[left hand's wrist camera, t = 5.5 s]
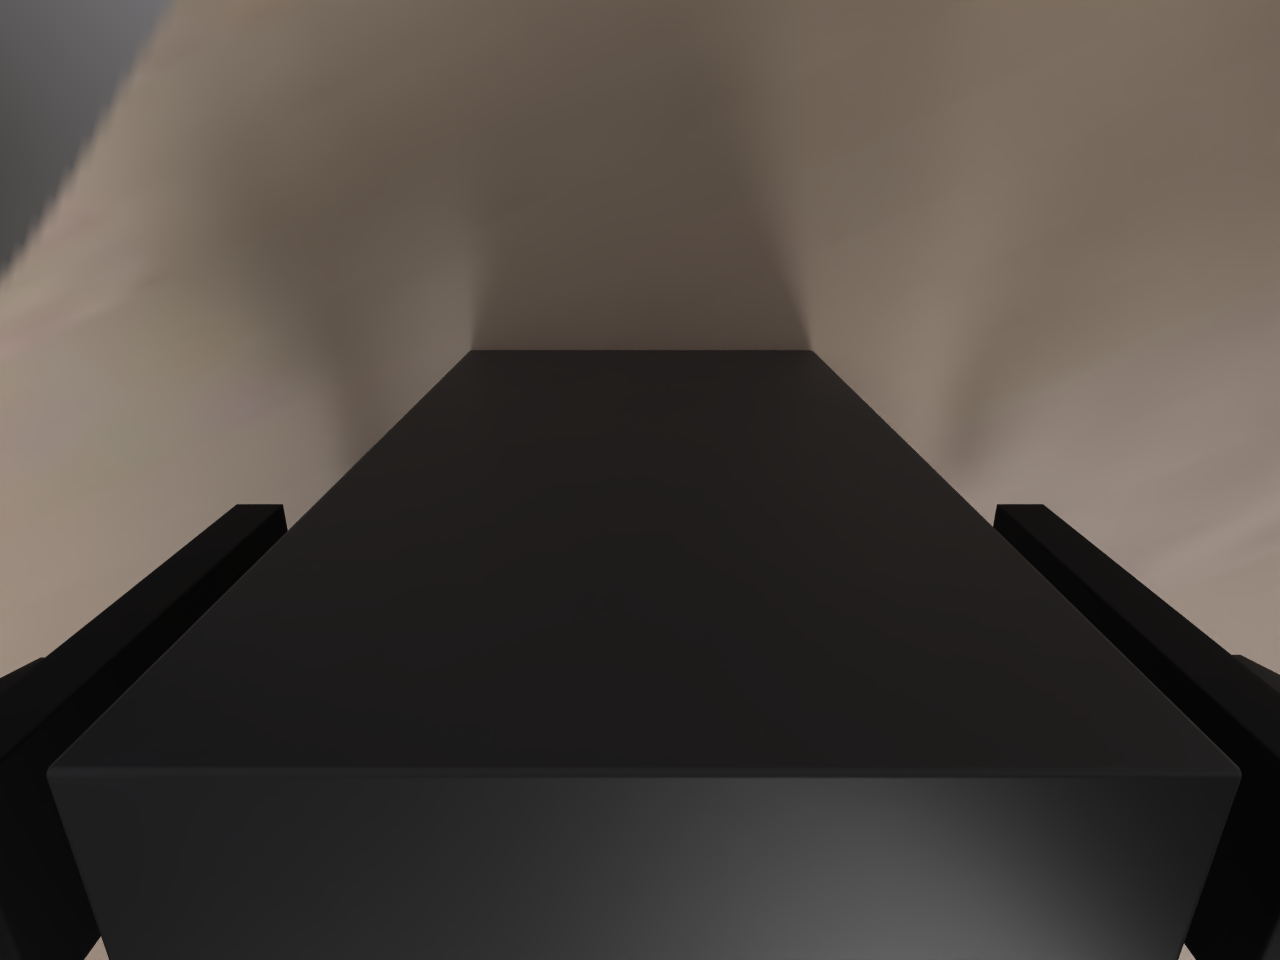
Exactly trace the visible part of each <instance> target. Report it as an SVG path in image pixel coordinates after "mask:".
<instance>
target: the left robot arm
mask: <svg viewBox="0 0 1280 960" xmlns="http://www.w3.org/2000/svg"><path fill="white" fill-rule="evenodd" d="M993 528H994V529H995V530H997V531H998V532H999V533H1000V534H1001V535H1002V536H1003V537H1004V538H1005V539H1006V540H1007V541H1008V542H1009V543H1010V544H1011V545H1012V546H1013V547H1014V548H1015V549H1016V550H1017V551H1018V552H1019V553H1020V554H1021V555H1022V556H1023V557H1024V558H1025V559H1026V560H1027V561H1028V562H1029V563H1030V564H1031V565H1032V566H1033V567H1034V568H1035V569H1036V570H1037V571H1038V572H1040V573H1041V574H1042V575H1043V576H1044V577H1045V578H1046V579H1047V580H1048V581H1049V582H1050V583H1051V584H1052V585H1053V586H1054V587H1055V588H1056V589H1057V590H1058V591H1059V592H1060V593H1061V594H1062V595H1063V596H1064V597H1065V598H1066V599H1067V600H1068V601H1069V602H1070V603H1071V604H1072V605H1073V606H1074V607H1075V608H1076V609H1077V610H1078V611H1079V612H1080V613H1081V614H1083V615H1084V616H1085V617H1086V618H1087V619H1088V620H1089V621H1090V622H1091V623H1092V624H1093V625H1094V626H1095V627H1096V628H1097V629H1098V630H1099V631H1100V632H1101V633H1102V634H1103V635H1104V636H1105V637H1106V638H1107V639H1108V640H1109V641H1110V642H1111V643H1112V644H1113V645H1114V646H1115V647H1116V648H1117V649H1118V650H1119V651H1120V652H1121V653H1122V654H1123V655H1124V656H1126V657H1127V658H1128V659H1129V660H1130V661H1131V662H1132V663H1133V664H1134V665H1135V666H1136V667H1137V668H1138V669H1139V670H1140V671H1141V672H1142V673H1143V674H1144V675H1145V676H1146V677H1147V678H1148V679H1149V680H1150V681H1151V682H1152V683H1153V684H1154V685H1155V686H1156V687H1157V688H1158V689H1159V690H1160V691H1161V692H1162V693H1163V694H1164V695H1165V696H1166V697H1167V698H1169V699H1170V700H1171V701H1172V702H1173V703H1174V704H1175V705H1176V706H1177V707H1178V708H1179V709H1180V710H1181V711H1182V712H1183V713H1184V714H1185V715H1186V716H1187V717H1188V718H1189V719H1190V720H1191V721H1192V722H1193V723H1194V724H1195V725H1196V726H1197V727H1198V728H1199V729H1200V730H1201V731H1202V732H1203V733H1204V734H1205V735H1206V736H1207V737H1208V738H1209V739H1210V740H1211V741H1213V742H1214V743H1215V744H1216V745H1217V746H1218V747H1219V748H1220V749H1221V750H1222V751H1223V752H1224V753H1225V754H1226V755H1227V756H1228V757H1229V758H1230V759H1231V760H1232V761H1233V762H1234V763H1235V764H1236V765H1237V766H1238V767H1239V768H1240V770H1241V774H1242V778H1241V781H1240V784H1239V786H1238V789H1237V792H1236V795H1235V798H1234V801H1233V804H1232V806H1231V809H1230V812H1229V815H1228V818H1227V821H1226V824H1225V827H1224V829H1223V832H1222V835H1221V838H1220V841H1219V844H1218V847H1217V850H1216V852H1215V855H1214V858H1213V861H1212V864H1211V867H1210V870H1209V872H1208V875H1207V878H1206V881H1205V884H1204V887H1203V890H1202V893H1201V895H1200V898H1199V901H1198V904H1197V907H1196V910H1195V913H1194V915H1193V918H1192V921H1191V924H1190V927H1189V930H1188V933H1187V936H1186V938H1185V941H1184V944H1185V945H1186V946H1187V948H1188V949H1189V951H1190V952H1191V953H1192V955H1193V956H1194V958H1195V959H1196V960H1280V675H1279V674H1277V673H1275V672H1273V671H1271V670H1269V669H1267V668H1265V667H1263V666H1261V665H1259V664H1257V663H1255V662H1253V661H1251V660H1249V659H1247V658H1245V657H1243V656H1242V655H1231V654H1230V653H1228V652H1227V651H1226V650H1225V649H1223V648H1222V647H1221V646H1220V645H1218V644H1217V643H1216V642H1215V641H1213V640H1212V639H1211V638H1210V637H1208V636H1207V635H1206V634H1205V633H1203V632H1202V631H1201V630H1200V629H1198V628H1197V627H1196V626H1195V625H1193V624H1192V623H1191V622H1190V621H1188V620H1187V619H1186V618H1185V617H1183V616H1182V615H1181V614H1180V613H1178V612H1177V611H1176V610H1175V609H1173V608H1172V607H1171V606H1170V605H1168V604H1167V603H1166V602H1165V601H1163V600H1162V599H1161V598H1160V597H1158V596H1157V595H1156V594H1155V593H1153V592H1152V591H1151V590H1150V589H1148V588H1147V587H1146V586H1145V585H1143V584H1142V583H1141V582H1140V581H1138V580H1137V579H1136V578H1135V577H1133V576H1132V575H1131V574H1130V573H1128V572H1127V571H1126V570H1125V569H1123V568H1122V567H1121V566H1120V565H1118V564H1117V563H1116V562H1115V561H1113V560H1112V559H1111V558H1110V557H1108V556H1107V555H1106V554H1105V553H1103V552H1102V551H1101V550H1100V549H1098V548H1097V547H1096V546H1095V545H1093V544H1092V543H1091V542H1090V541H1088V540H1087V539H1086V538H1085V537H1083V536H1082V535H1081V534H1080V533H1078V532H1077V531H1076V530H1075V529H1073V528H1072V527H1071V526H1070V525H1068V524H1067V523H1066V522H1064V521H1063V520H1062V519H1061V518H1059V517H1058V516H1057V515H1056V514H1054V513H1053V512H1052V511H1051V510H1049V509H1048V508H1047V507H1046V506H1044V505H1043V504H997V508H996V514H995V519H994V525H993ZM287 531H288V530H287V525H286V519H285V513H284V508H283V504H237V505H236V506H234V507H233V508H232V509H231V510H229V511H228V512H227V513H226V514H224V515H223V516H222V517H221V518H219V519H218V520H217V521H216V522H214V523H213V524H212V525H211V526H209V527H208V528H207V529H206V530H204V531H203V532H202V533H201V534H199V535H198V536H197V537H196V538H194V539H193V540H192V541H191V542H189V543H188V544H187V545H185V546H184V547H183V548H182V549H180V550H179V551H178V552H177V553H175V554H174V555H173V556H172V557H170V558H169V559H168V560H167V561H165V562H164V563H163V564H162V565H160V566H159V567H158V568H157V569H155V570H154V571H153V572H152V573H150V574H149V575H148V576H147V577H145V578H144V579H143V580H142V581H140V582H139V583H138V584H137V585H135V586H134V587H133V588H132V589H130V590H129V591H128V592H127V593H125V594H124V595H123V596H122V597H120V598H119V599H118V600H117V601H115V602H114V603H113V604H112V605H110V606H109V607H108V608H107V609H105V610H104V611H103V612H102V613H100V614H99V615H98V616H97V617H95V618H94V619H93V620H92V621H90V622H89V623H88V624H87V625H85V626H84V627H83V628H82V629H80V630H79V631H78V632H77V633H75V634H74V635H73V636H72V637H70V638H69V639H68V640H67V641H65V642H64V643H63V644H62V645H60V646H59V647H58V648H57V649H55V650H54V651H53V652H52V653H50V654H49V655H48V656H47V657H45V658H39V659H37V660H35V661H33V662H31V663H29V664H27V665H25V666H23V667H21V668H19V669H17V670H15V671H13V672H11V673H9V674H7V675H6V676H4V677H2V678H0V960H84V959H85V958H86V956H87V955H88V953H89V952H90V951H91V949H92V948H93V946H94V945H95V944H96V942H97V941H98V939H99V938H100V937H101V934H100V931H99V928H98V925H97V923H96V920H95V917H94V914H93V911H92V908H91V905H90V902H89V899H88V896H87V893H86V891H85V888H84V885H83V882H82V879H81V876H80V873H79V870H78V867H77V864H76V861H75V859H74V856H73V853H72V850H71V847H70V844H69V841H68V838H67V835H66V832H65V830H64V827H63V824H62V821H61V818H60V815H59V812H58V809H57V806H56V803H55V800H54V798H53V795H52V792H51V789H50V786H49V783H48V780H47V777H46V775H47V770H48V768H49V766H50V765H51V764H53V763H54V762H55V761H56V760H57V759H58V758H59V757H60V756H61V755H62V754H63V753H64V752H65V751H66V750H67V749H68V748H69V747H70V746H71V745H72V744H73V743H74V742H75V741H76V740H77V739H78V738H79V737H80V736H81V735H82V734H83V733H84V732H85V731H86V730H87V729H88V728H89V727H90V726H91V725H92V724H93V723H94V722H95V721H96V720H97V719H98V718H99V717H100V716H101V715H102V714H103V713H104V712H105V711H106V710H107V709H108V708H109V707H110V706H111V705H112V704H113V703H114V702H115V701H116V700H117V699H118V698H119V697H120V696H121V695H122V694H123V693H124V692H125V691H126V690H127V689H128V688H129V687H130V686H131V685H132V684H133V683H135V682H136V681H137V680H138V679H139V678H140V677H141V676H142V675H143V674H144V673H145V672H146V671H147V670H148V669H149V668H150V667H151V666H152V665H153V664H154V663H155V662H156V661H157V660H158V659H159V658H160V657H161V656H162V655H163V654H164V653H165V652H166V651H167V650H168V649H169V648H170V647H171V646H172V645H173V644H174V643H175V642H176V641H177V640H178V639H179V638H180V637H181V636H182V635H183V634H184V633H185V632H186V631H187V630H188V629H189V628H190V627H191V626H192V625H193V624H194V623H195V622H196V621H197V620H198V619H199V618H200V617H201V616H202V615H203V614H204V613H205V612H206V611H207V610H208V609H209V608H210V607H211V606H212V605H213V604H214V603H215V602H216V601H218V600H219V599H220V598H221V597H222V596H223V595H224V594H225V593H226V592H227V591H228V590H229V589H230V588H231V587H232V586H233V585H234V584H235V583H236V582H237V581H238V580H239V579H240V578H241V577H242V576H243V575H244V574H245V573H246V572H247V571H248V570H249V569H250V568H251V567H252V566H253V565H254V564H255V563H256V562H257V561H258V560H259V559H260V558H261V557H262V556H263V555H264V554H265V553H266V552H267V551H268V550H269V549H270V548H271V547H272V546H273V545H274V544H275V543H276V542H277V541H278V540H279V539H280V538H281V537H282V536H283V535H284V534H285V533H286V532H287Z"/></svg>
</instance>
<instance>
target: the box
mask: <svg viewBox="0 0 1280 960" xmlns="http://www.w3.org/2000/svg"><path fill="white" fill-rule="evenodd" d="M46 777H47V780H48V783H49V786H50V789H51V792H52V795H53V798H54V800H55V803H56V806H57V809H58V812H59V815H60V818H61V821H62V824H63V827H64V830H65V832H66V835H67V838H68V841H69V844H70V847H71V850H72V853H73V856H74V859H75V861H76V864H77V867H78V870H79V873H80V876H81V879H82V882H83V885H84V888H85V891H86V893H87V896H88V899H89V902H90V905H91V908H92V911H93V914H94V917H95V920H96V923H97V925H98V928H99V931H100V934H101V937H102V940H103V943H104V946H105V949H106V952H107V955H108V957H109V960H1178V959H1179V956H1180V953H1181V950H1182V947H1183V944H1184V941H1185V938H1186V936H1187V933H1188V930H1189V927H1190V924H1191V921H1192V918H1193V915H1194V913H1195V910H1196V907H1197V904H1198V901H1199V898H1200V895H1201V893H1202V890H1203V887H1204V884H1205V881H1206V878H1207V875H1208V872H1209V870H1210V867H1211V864H1212V861H1213V858H1214V855H1215V852H1216V850H1217V847H1218V844H1219V841H1220V838H1221V835H1222V832H1223V829H1224V827H1225V824H1226V821H1227V818H1228V815H1229V812H1230V809H1231V806H1232V804H1233V801H1234V798H1235V795H1236V792H1237V789H1238V786H1239V784H1240V781H1241V778H1242V774H1241V770H1240V768H1239V767H1238V766H1237V765H1236V764H1235V763H1234V762H1233V761H1232V760H1231V759H1230V758H1229V757H1228V756H1227V755H1226V754H1225V753H1224V752H1223V751H1222V750H1221V749H1220V748H1219V747H1218V746H1217V745H1216V744H1215V743H1214V742H1213V741H1211V740H1210V739H1209V738H1208V737H1207V736H1206V735H1205V734H1204V733H1203V732H1202V731H1201V730H1200V729H1199V728H1198V727H1197V726H1196V725H1195V724H1194V723H1193V722H1192V721H1191V720H1190V719H1189V718H1188V717H1187V716H1186V715H1185V714H1184V713H1183V712H1182V711H1181V710H1180V709H1179V708H1178V707H1177V706H1176V705H1175V704H1174V703H1173V702H1172V701H1171V700H1170V699H1169V698H1167V697H1166V696H1165V695H1164V694H1163V693H1162V692H1161V691H1160V690H1159V689H1158V688H1157V687H1156V686H1155V685H1154V684H1153V683H1152V682H1151V681H1150V680H1149V679H1148V678H1147V677H1146V676H1145V675H1144V674H1143V673H1142V672H1141V671H1140V670H1139V669H1138V668H1137V667H1136V666H1135V665H1134V664H1133V663H1132V662H1131V661H1130V660H1129V659H1128V658H1127V657H1126V656H1124V655H1123V654H1122V653H1121V652H1120V651H1119V650H1118V649H1117V648H1116V647H1115V646H1114V645H1113V644H1112V643H1111V642H1110V641H1109V640H1108V639H1107V638H1106V637H1105V636H1104V635H1103V634H1102V633H1101V632H1100V631H1099V630H1098V629H1097V628H1096V627H1095V626H1094V625H1093V624H1092V623H1091V622H1090V621H1089V620H1088V619H1087V618H1086V617H1085V616H1084V615H1083V614H1081V613H1080V612H1079V611H1078V610H1077V609H1076V608H1075V607H1074V606H1073V605H1072V604H1071V603H1070V602H1069V601H1068V600H1067V599H1066V598H1065V597H1064V596H1063V595H1062V594H1061V593H1060V592H1059V591H1058V590H1057V589H1056V588H1055V587H1054V586H1053V585H1052V584H1051V583H1050V582H1049V581H1048V580H1047V579H1046V578H1045V577H1044V576H1043V575H1042V574H1041V573H1040V572H1038V571H1037V570H1036V569H1035V568H1034V567H1033V566H1032V565H1031V564H1030V563H1029V562H1028V561H1027V560H1026V559H1025V558H1024V557H1023V556H1022V555H1021V554H1020V553H1019V552H1018V551H1017V550H1016V549H1015V548H1014V547H1013V546H1012V545H1011V544H1010V543H1009V542H1008V541H1007V540H1006V539H1005V538H1004V537H1003V536H1002V535H1001V534H1000V533H999V532H998V531H997V530H995V529H994V528H993V527H992V526H991V525H990V524H989V523H988V522H987V521H986V520H985V519H984V518H983V517H982V516H981V515H980V514H979V513H978V512H977V511H976V510H975V509H974V508H973V507H972V506H971V505H970V504H969V503H968V502H967V501H966V500H965V499H964V498H963V497H962V496H961V495H960V494H959V493H958V492H957V491H956V490H955V489H954V488H952V487H951V486H950V485H949V484H948V483H947V482H946V481H945V480H944V479H943V478H942V477H941V476H940V475H939V474H938V473H937V472H936V471H935V470H934V469H933V468H932V467H931V466H930V465H929V464H928V463H927V462H926V461H925V460H924V459H923V458H922V457H921V456H920V455H919V454H918V453H917V452H916V451H915V450H914V449H913V448H912V447H911V446H910V445H908V444H907V443H906V442H905V441H904V440H903V439H902V438H901V437H900V436H899V435H898V434H897V433H896V432H895V431H894V430H893V429H892V428H891V427H890V426H889V425H888V424H887V423H886V422H885V421H884V420H883V419H882V418H881V417H880V416H879V415H878V414H877V413H876V412H875V411H874V410H873V409H872V408H871V407H870V406H869V405H868V404H867V403H865V402H864V401H863V400H862V399H861V398H860V397H859V396H858V395H857V394H856V393H855V392H854V391H853V390H852V389H851V388H850V387H849V386H848V385H847V384H846V383H845V382H844V381H843V380H842V379H841V378H840V377H839V376H838V375H837V374H836V373H835V372H834V371H833V370H832V369H831V368H830V367H829V366H828V365H827V364H826V363H825V362H824V361H822V360H821V359H820V358H819V357H818V356H817V355H816V354H815V353H814V352H813V351H811V350H472V351H470V352H469V353H468V354H467V355H466V356H464V357H463V358H462V359H461V360H460V361H459V362H458V363H457V364H456V365H455V366H454V367H453V368H452V369H451V370H450V371H449V372H448V373H447V374H446V375H445V376H444V377H443V378H442V379H441V380H440V381H439V382H438V383H437V384H436V385H435V386H434V387H433V388H432V389H431V390H430V391H429V392H428V393H427V394H426V395H425V396H424V397H423V398H422V399H421V400H420V401H419V402H418V403H417V404H416V405H415V406H414V407H413V408H412V409H411V410H410V411H409V412H408V413H407V414H406V415H405V416H404V417H403V418H402V419H401V420H400V421H399V422H398V423H397V424H396V425H395V426H394V427H393V428H392V429H391V430H390V431H389V432H388V433H387V434H386V435H385V436H384V437H383V438H381V439H380V440H379V441H378V442H377V443H376V444H375V445H374V446H373V447H372V448H371V449H370V450H369V451H368V452H367V453H366V454H365V455H364V456H363V457H362V458H361V459H360V460H359V461H358V462H357V463H356V464H355V465H354V466H353V467H352V468H351V469H350V470H349V471H348V472H347V473H346V474H345V475H344V476H343V477H342V478H341V479H340V480H339V481H338V482H337V483H336V484H335V485H334V486H333V487H332V488H331V489H330V490H329V491H328V492H327V493H326V494H325V495H324V496H323V497H322V498H321V499H320V500H319V501H318V502H317V503H316V504H315V505H314V506H313V507H312V508H311V509H310V510H309V511H308V512H307V513H306V514H305V515H304V516H303V517H302V518H301V519H300V520H298V521H297V522H296V523H295V524H294V525H293V526H292V527H291V528H290V529H289V530H288V531H287V532H286V533H285V534H284V535H283V536H282V537H281V538H280V539H279V540H278V541H277V542H276V543H275V544H274V545H273V546H272V547H271V548H270V549H269V550H268V551H267V552H266V553H265V554H264V555H263V556H262V557H261V558H260V559H259V560H258V561H257V562H256V563H255V564H254V565H253V566H252V567H251V568H250V569H249V570H248V571H247V572H246V573H245V574H244V575H243V576H242V577H241V578H240V579H239V580H238V581H237V582H236V583H235V584H234V585H233V586H232V587H231V588H230V589H229V590H228V591H227V592H226V593H225V594H224V595H223V596H222V597H221V598H220V599H219V600H218V601H216V602H215V603H214V604H213V605H212V606H211V607H210V608H209V609H208V610H207V611H206V612H205V613H204V614H203V615H202V616H201V617H200V618H199V619H198V620H197V621H196V622H195V623H194V624H193V625H192V626H191V627H190V628H189V629H188V630H187V631H186V632H185V633H184V634H183V635H182V636H181V637H180V638H179V639H178V640H177V641H176V642H175V643H174V644H173V645H172V646H171V647H170V648H169V649H168V650H167V651H166V652H165V653H164V654H163V655H162V656H161V657H160V658H159V659H158V660H157V661H156V662H155V663H154V664H153V665H152V666H151V667H150V668H149V669H148V670H147V671H146V672H145V673H144V674H143V675H142V676H141V677H140V678H139V679H138V680H137V681H136V682H135V683H133V684H132V685H131V686H130V687H129V688H128V689H127V690H126V691H125V692H124V693H123V694H122V695H121V696H120V697H119V698H118V699H117V700H116V701H115V702H114V703H113V704H112V705H111V706H110V707H109V708H108V709H107V710H106V711H105V712H104V713H103V714H102V715H101V716H100V717H99V718H98V719H97V720H96V721H95V722H94V723H93V724H92V725H91V726H90V727H89V728H88V729H87V730H86V731H85V732H84V733H83V734H82V735H81V736H80V737H79V738H78V739H77V740H76V741H75V742H74V743H73V744H72V745H71V746H70V747H69V748H68V749H67V750H66V751H65V752H64V753H63V754H62V755H61V756H60V757H59V758H58V759H57V760H56V761H55V762H54V763H53V764H51V765H50V766H49V768H48V770H47V775H46Z"/></svg>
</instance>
